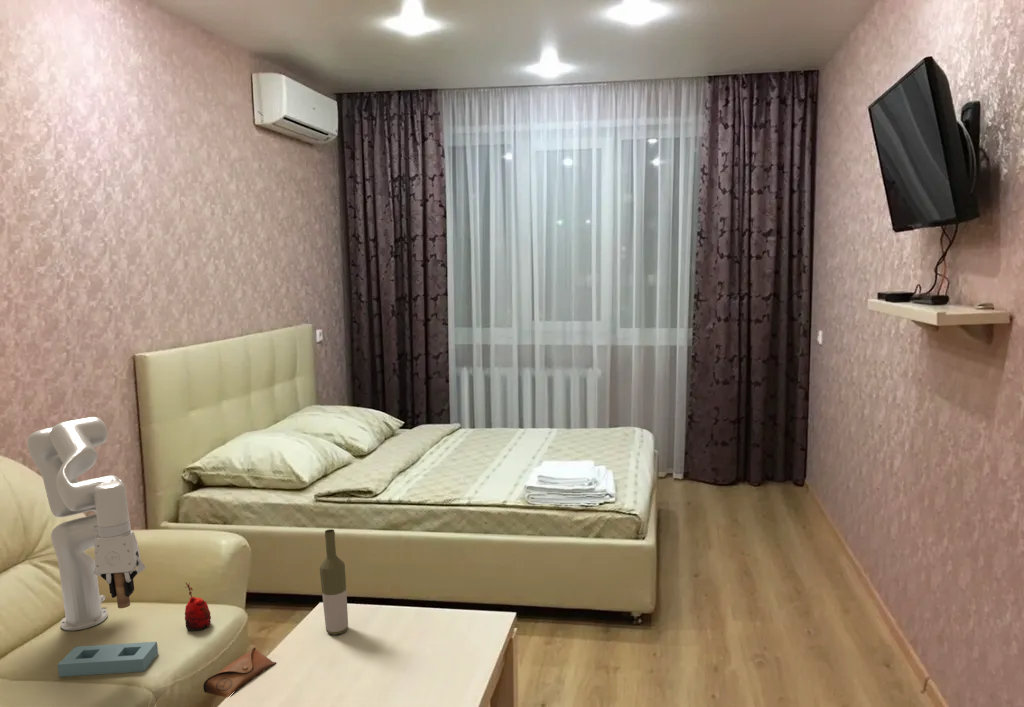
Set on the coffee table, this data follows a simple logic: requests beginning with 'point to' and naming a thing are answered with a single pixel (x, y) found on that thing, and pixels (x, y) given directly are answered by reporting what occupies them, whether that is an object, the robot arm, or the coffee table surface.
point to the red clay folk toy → (196, 613)
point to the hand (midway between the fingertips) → (122, 594)
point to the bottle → (334, 588)
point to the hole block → (108, 659)
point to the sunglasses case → (237, 674)
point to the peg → (121, 590)
